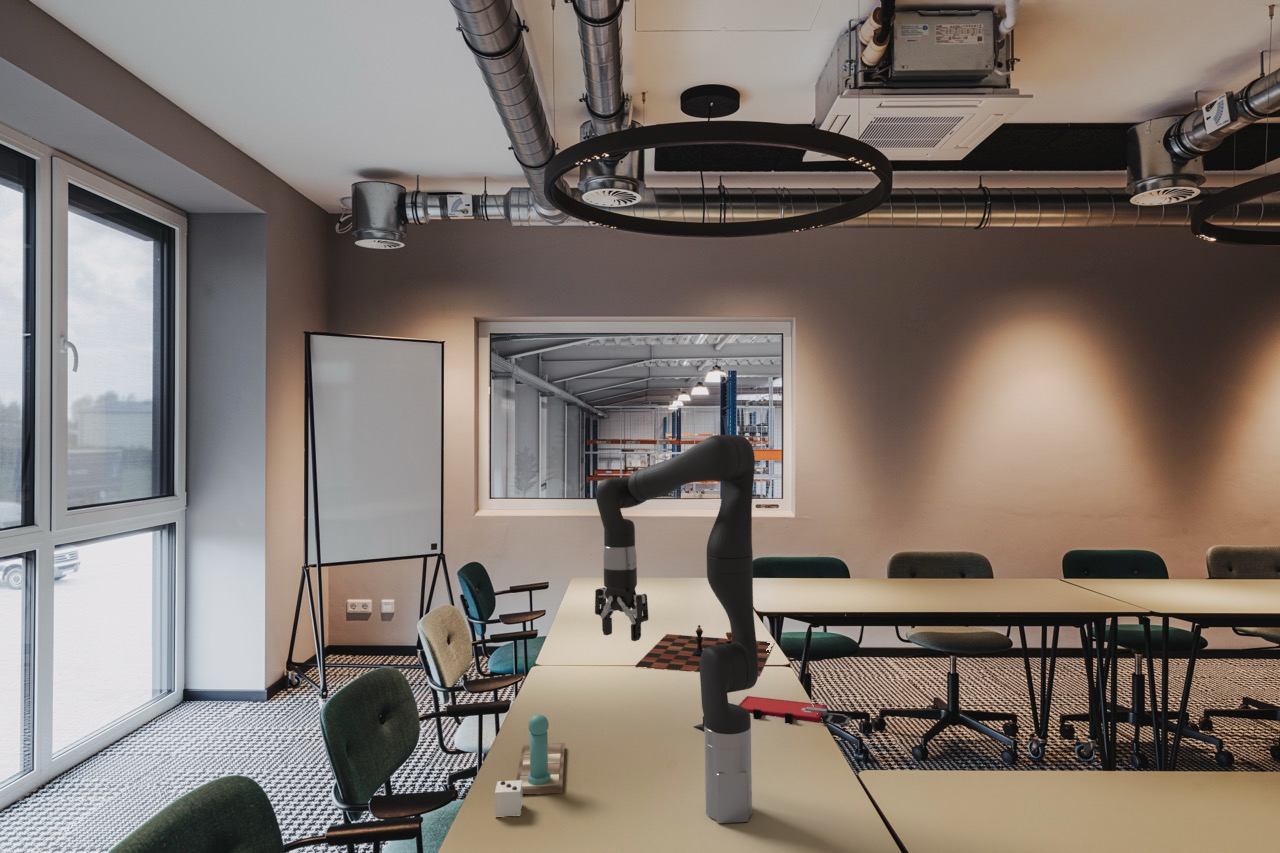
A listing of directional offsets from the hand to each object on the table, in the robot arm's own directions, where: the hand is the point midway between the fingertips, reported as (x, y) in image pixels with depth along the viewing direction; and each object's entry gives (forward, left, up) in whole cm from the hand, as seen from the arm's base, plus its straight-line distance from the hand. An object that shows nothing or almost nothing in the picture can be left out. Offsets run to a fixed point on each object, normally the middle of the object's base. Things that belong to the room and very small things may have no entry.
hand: (621, 637), depth 176 cm
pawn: (-7, +19, -28) cm, 34 cm away
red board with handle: (+29, -47, -31) cm, 63 cm away
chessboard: (+87, -34, -31) cm, 98 cm away
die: (-17, +24, -30) cm, 42 cm away
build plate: (+21, -24, -31) cm, 44 cm away
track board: (+1, +19, -30) cm, 35 cm away
